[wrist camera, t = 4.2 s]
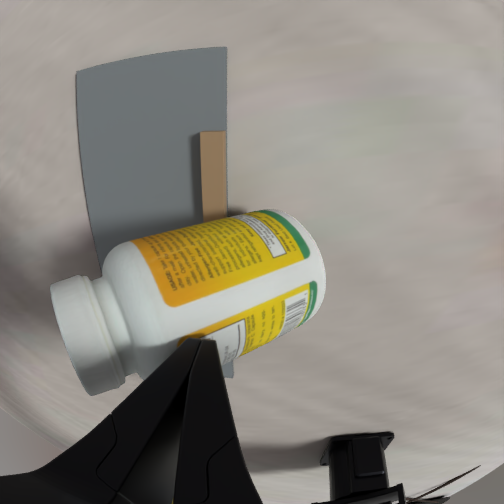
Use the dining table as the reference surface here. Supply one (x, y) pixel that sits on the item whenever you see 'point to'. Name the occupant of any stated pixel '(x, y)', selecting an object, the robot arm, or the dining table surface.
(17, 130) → the dining table surface
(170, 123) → the grey flat board
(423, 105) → the dining table surface
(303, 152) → the dining table surface
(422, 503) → the sushi plate
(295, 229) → the supplement bottle
